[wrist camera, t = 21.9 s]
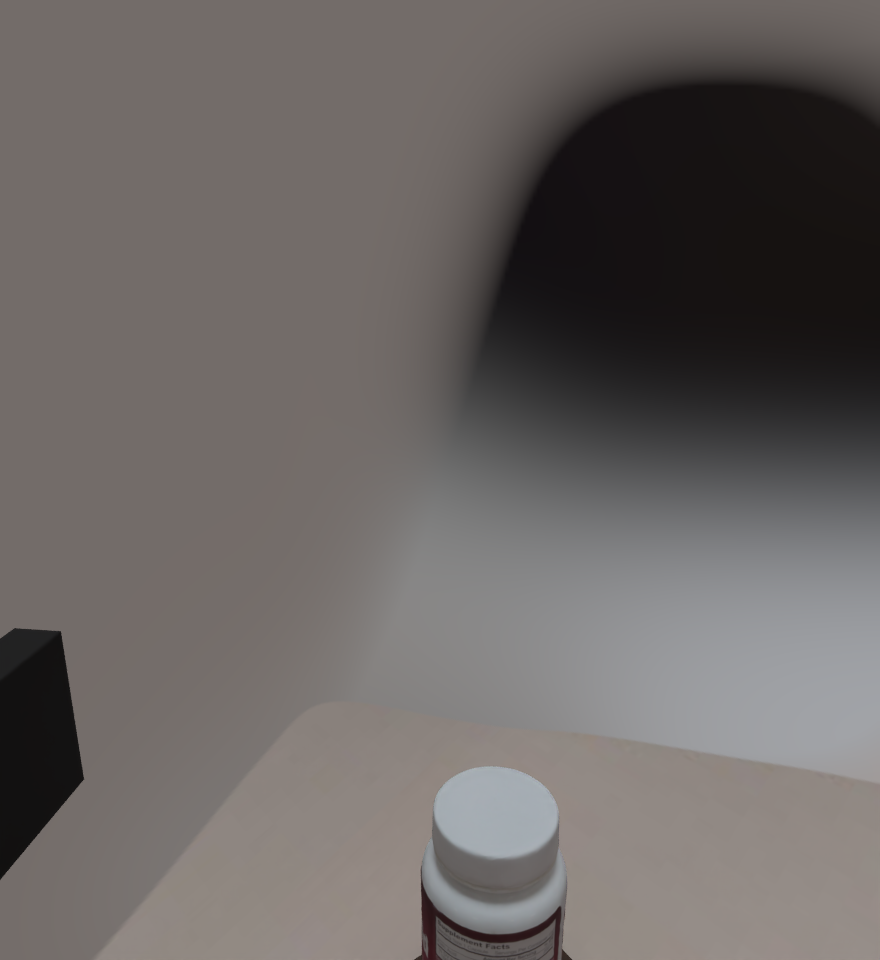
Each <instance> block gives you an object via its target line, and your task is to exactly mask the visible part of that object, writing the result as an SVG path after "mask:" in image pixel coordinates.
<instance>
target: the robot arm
mask: <svg viewBox="0 0 880 960" xmlns="http://www.w3.org/2000/svg"><path fill="white" fill-rule="evenodd" d="M83 780H84V777H83V770H82V764H81V757H80V751H79V745H78V738H77V732H76V725H75V720H74V713H73V706H72V700H71V693H70V687H69V681H68V674H67V668H66V661H65V655H64V649H63V642H62V636H61V631H47V630H31V629H16V628H15V629H13V630H12V631H10V632H9V633H7V634H6V635H5V636H3V637H2V638H1V639H0V879H1V878H2V877H3V876H4V875H5V873H6V872H7V871H8V870H9V869H10V867H11V866H12V865H13V864H14V862H15V861H16V860H17V859H18V858H19V857H20V855H21V854H22V853H23V852H24V851H25V849H26V848H27V847H28V845H30V843H31V842H32V841H33V840H34V839H35V837H36V836H37V835H38V834H39V833H40V831H41V830H42V829H43V828H44V826H45V825H46V824H47V823H48V822H49V821H50V819H51V818H52V817H53V816H54V814H55V813H56V812H57V811H58V810H59V809H60V807H61V806H62V805H63V804H64V803H65V801H66V800H67V799H68V798H69V796H70V795H71V794H72V793H73V792H74V791H75V789H76V788H77V787H78V786H79V784H80V783H81V782H82V781H83Z"/></svg>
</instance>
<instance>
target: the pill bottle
mask: <svg viewBox="0 0 880 960" xmlns="http://www.w3.org/2000/svg"><path fill="white" fill-rule="evenodd" d="M566 893H567V872H566V866H565V862H564V859H563V856H562V853H561V851H560V849H559V812H558V807H557V804H556V802H555V799H554V797H553V796H552V794H551V793H550V792H549V791H548V789H547V788H546V787H545V786H544V785H543V784H542V783H540V782H539V781H537V780H536V779H534V778H533V777H531V776H529V775H527V774H525V773H523V772H520V771H517V770H514V769H510V768H505V767H496V766H492V767H491V766H485V767H478V768H473V769H469V770H466V771H463V772H461V773H459V774H457V775H455V776H453V777H452V778H450V779H449V780H448V781H447V782H446V783H445V784H444V785H443V786H442V787H441V788H440V790H439V792H438V793H437V796H436V798H435V800H434V806H433V827H432V837H431V839H430V841H429V843H428V845H427V847H426V849H425V852H424V856H423V860H422V866H421V895H422V960H561V958H562V942H563V925H564V917H565V905H566Z"/></svg>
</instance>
